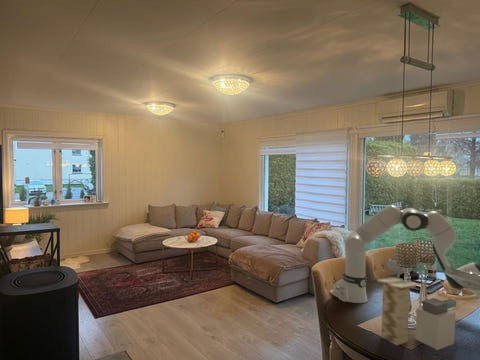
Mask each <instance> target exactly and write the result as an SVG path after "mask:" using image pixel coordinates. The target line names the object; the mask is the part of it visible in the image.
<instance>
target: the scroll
mask: <svg viewBox="0 0 480 360" xmlns="http://www.w3.org/2000/svg"><path fill="white" fill-rule="evenodd" d="M400 276H401V277H404V273H402V274H401V275H400ZM410 276H411V278H410V279H411V280H413V279H415V278H419V277H420V276H421V275H420V273H418V271H415V270H412V271H411V272H410Z"/></svg>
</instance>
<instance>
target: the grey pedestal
mask: <svg viewBox="0 0 480 360" xmlns="http://www.w3.org/2000/svg"><path fill="white" fill-rule="evenodd" d="M415 313H416V316H415V317H416V318H415V340H416V341H418V342H421V344H424V345H426V346H428V347H430V348H432V349H435V350H436V351H440V350H441V349H444V348H447V347H450V346H452V345H455V335H456V334H455V331H456V312H455V311H453V310H450V309H447V312H445V313H441V314H438V315H434V314H432V313H429V312H427V311H424V310H423V306H421V307H417V308H416V312H415Z"/></svg>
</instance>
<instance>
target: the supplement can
mask: <svg viewBox="0 0 480 360" xmlns="http://www.w3.org/2000/svg"><path fill="white" fill-rule="evenodd" d="M437 263H438V260H437V258H436V262H435V264H434V265H431V266H428V268H427V269H428V277H427V278H431V277H432V278H434V279H435V278H436V277H437V267H438V266H437V265H438V264H437ZM432 278H431V279H432Z"/></svg>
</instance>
